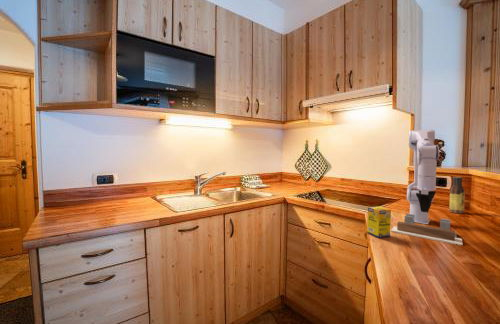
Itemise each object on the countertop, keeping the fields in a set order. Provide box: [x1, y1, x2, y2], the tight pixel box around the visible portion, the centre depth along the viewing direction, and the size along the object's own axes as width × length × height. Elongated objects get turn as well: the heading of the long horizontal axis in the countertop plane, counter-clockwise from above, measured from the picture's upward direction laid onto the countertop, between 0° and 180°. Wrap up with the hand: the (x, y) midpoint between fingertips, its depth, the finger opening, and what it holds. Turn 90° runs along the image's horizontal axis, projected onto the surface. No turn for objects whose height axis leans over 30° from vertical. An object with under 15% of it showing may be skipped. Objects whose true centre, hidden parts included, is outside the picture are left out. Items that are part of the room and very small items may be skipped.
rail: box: [396, 221, 456, 241], centre depth 92 cm, size 3×18×3 cm, turn 49°
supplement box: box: [366, 206, 392, 239], centre depth 92 cm, size 6×6×11 cm
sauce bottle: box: [448, 176, 466, 215], centre depth 128 cm, size 7×6×20 cm
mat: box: [390, 225, 463, 247], centre depth 92 cm, size 7×22×1 cm, turn 49°
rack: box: [404, 213, 458, 238], centre depth 98 cm, size 6×19×6 cm, turn 49°
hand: (425, 210), depth 91 cm, fingers open, 7 cm apart
